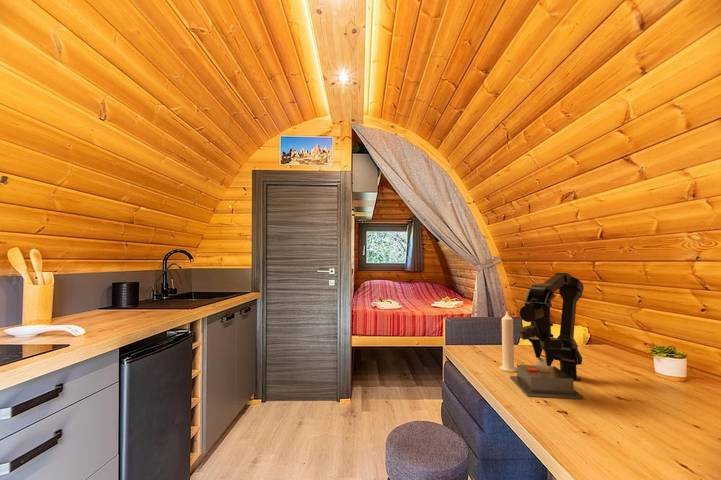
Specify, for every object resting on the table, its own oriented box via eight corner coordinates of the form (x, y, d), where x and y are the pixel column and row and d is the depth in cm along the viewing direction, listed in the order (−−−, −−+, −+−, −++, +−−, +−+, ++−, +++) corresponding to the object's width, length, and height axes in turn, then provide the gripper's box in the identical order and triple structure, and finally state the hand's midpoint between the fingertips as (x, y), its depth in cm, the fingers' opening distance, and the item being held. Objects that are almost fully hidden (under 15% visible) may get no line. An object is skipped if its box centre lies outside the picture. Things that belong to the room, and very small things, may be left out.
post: (537, 382, 125) (536, 357, 125) (546, 382, 124) (545, 357, 125) (540, 385, 121) (540, 360, 122) (550, 385, 121) (549, 360, 122)
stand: (510, 378, 133) (509, 361, 133) (558, 380, 131) (557, 363, 131) (527, 396, 115) (527, 376, 115) (583, 399, 113) (582, 379, 113)
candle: (514, 367, 147) (512, 309, 149) (520, 372, 140) (518, 312, 142) (497, 366, 148) (496, 309, 149) (502, 371, 141) (501, 311, 142)
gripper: (510, 314, 135) (511, 354, 134) (528, 323, 116) (530, 369, 115) (539, 315, 133) (541, 355, 132) (562, 324, 115) (564, 370, 114)
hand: (543, 362), depth 123 cm, fingers open, 9 cm apart
